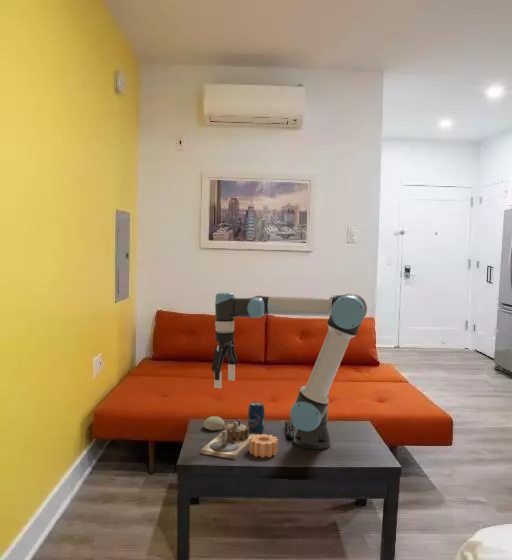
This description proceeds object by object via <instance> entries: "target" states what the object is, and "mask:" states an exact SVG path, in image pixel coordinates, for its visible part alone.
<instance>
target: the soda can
mask: <svg viewBox="0 0 512 560" xmlns="http://www.w3.org/2000/svg"><path fill="white" fill-rule="evenodd" d="M247 414H248V415H247V426H249V433H251V434H259V433H263V431H264V428H265V406H264V403H263V402H260V401H251V402H250V403H249V406H248V413H247Z"/></svg>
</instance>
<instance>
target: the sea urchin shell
mask: <svg viewBox="0 0 512 560" xmlns="http://www.w3.org/2000/svg"><path fill="white" fill-rule="evenodd" d="M223 425H226V422H225V421H224V419H222V417H220V416H215V415H213V416H209V417H207V419H205V420H204V422H203V427H204V428H205V429H207V430H209V431H213V432H214V431H222V427H223Z"/></svg>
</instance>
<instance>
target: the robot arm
mask: <svg viewBox="0 0 512 560" xmlns="http://www.w3.org/2000/svg"><path fill="white" fill-rule="evenodd" d="M214 306H215V307H214V310H215V312H214V313H215V322H214V326H215V335H214V336H215V337H214V339H215V342H217V343H218V345H215V347H214V355H213V359H212V360H213V361H212V366H211V372H214V374H213V377H214V379H213V380H214V385H213V386H214V389H222V375H223V374H222V371H221V369H222V366H223V362H224V360H225V357H226V360H227V361H228V364H227V380H228V381H233V382H234V381H235V380H236V377H235V376H236V371H235V370H236V365H238V357H237V354H236V348H235V332H234V331H235V318H252V319H255V318H256V319H257V318H262V317H263V316H264V315H271V316H272V315H274V316H275V315H276V316H302V317H306V316H307V317H310V316H311V317H326V318H327V317H328V320H327V323H326V325H327V327H328V331H327V333H326V336H325V338H324V341H323V343H322V346H321V349H320V351H319V353H318V356H317V359H316V361H315V363H314V366H313V368H312V370H311V372H310V375H309V378H308V381H307V383H306V385H303V386H300V388H299V393H298V395H297V397H296V399H295V402H294V404H293V405H292V406H291V408H290V412H289V419H290V421H291V424H292V425H293V426H294V427H295V428H296V430H295V432H294V435H293V443H294V444H295V445H296V446H298V447H300V448H303V449H307V450H322V449H323V450H324V449H328V448H329V447H330V446H331V445H332V437H331V433H330V430H329V427H328V418H329V417H328V412H329V411H328V410H329V408H328V407H329V402H330V400H329V397H330V394H329V392H330V389H331V387H332V385H333V382H334V380H335V377H336V375H337V373H338V370H339V367H340V365H341V362H342V360H343V358H344V356H345V353H346V350H347V348H348V346H349V343H350V341H351V339H353V338H356V337H357V335H358V332H359V331H360V327H361V325H362V322H363V321H364V318H365V317H366V315H367V312H368V308H367V307H368V306H367V304H366V301H365V299H364V298H362V296H360V295H358V294H356V293H348V294H347V293H346V294H337V295H335V294H334V295H331V296H330V297H313V296H309V297H306V296H305V297H304V296H267V295H265V296H263V295H256V296H253V297H248V298H247V297H246V298H245V297H244V298H243V297H239V298H238V297H235V293H234V292H218V293H216V295H215V303H214Z"/></svg>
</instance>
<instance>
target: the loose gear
mask: <svg viewBox="0 0 512 560" xmlns="http://www.w3.org/2000/svg"><path fill="white" fill-rule="evenodd" d="M255 434H256V436H251V438H250V439H249V446H248V449H249V450H248V452H249V454H250V455H253V456H254V457H260V458H265V457H268V458H272V456H277V454H279V453H278V452H279V438H278V437H277V436H274V435H273V434H269V435H268V434H266V433H263V434H259V433H255Z"/></svg>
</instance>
